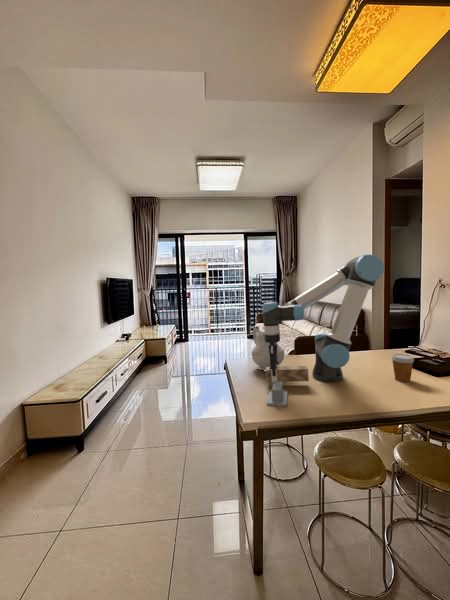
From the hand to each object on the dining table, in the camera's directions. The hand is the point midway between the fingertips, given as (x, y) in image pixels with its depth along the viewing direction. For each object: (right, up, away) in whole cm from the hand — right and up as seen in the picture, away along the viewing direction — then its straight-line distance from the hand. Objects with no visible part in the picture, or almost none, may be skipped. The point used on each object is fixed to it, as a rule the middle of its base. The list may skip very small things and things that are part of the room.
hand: (275, 379), depth 133 cm
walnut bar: (+6, 0, -1) cm, 6 cm away
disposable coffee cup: (+63, 0, 0) cm, 64 cm away
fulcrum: (-2, -4, -15) cm, 16 cm away
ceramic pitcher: (0, -2, +27) cm, 27 cm away
